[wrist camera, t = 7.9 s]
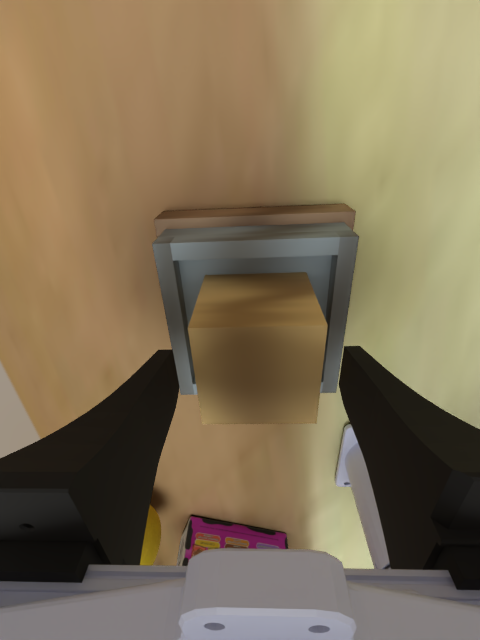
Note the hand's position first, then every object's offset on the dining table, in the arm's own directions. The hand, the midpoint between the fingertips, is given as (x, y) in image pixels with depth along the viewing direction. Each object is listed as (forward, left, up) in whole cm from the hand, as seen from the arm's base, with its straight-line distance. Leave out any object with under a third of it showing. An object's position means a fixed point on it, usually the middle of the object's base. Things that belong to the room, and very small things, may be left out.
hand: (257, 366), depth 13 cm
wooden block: (0, 0, -4) cm, 4 cm away
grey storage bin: (0, 0, -8) cm, 8 cm away
